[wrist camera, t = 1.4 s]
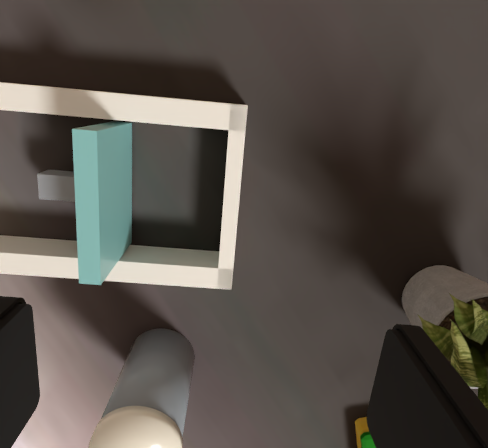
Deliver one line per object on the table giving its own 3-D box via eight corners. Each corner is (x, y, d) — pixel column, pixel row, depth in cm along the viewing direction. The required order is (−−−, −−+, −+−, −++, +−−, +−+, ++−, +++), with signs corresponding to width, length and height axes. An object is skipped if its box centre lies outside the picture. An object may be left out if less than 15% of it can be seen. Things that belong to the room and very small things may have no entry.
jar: (194, 385, 32) (179, 488, 24) (128, 381, 32) (90, 485, 24) (197, 329, 31) (183, 419, 22) (128, 325, 30) (87, 413, 22)
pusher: (131, 242, 28) (100, 285, 22) (58, 236, 28) (5, 278, 21) (131, 122, 26) (96, 130, 19) (51, 115, 25) (-12, 121, 19)
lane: (231, 270, 29) (231, 304, 24) (-71, 249, 28) (-134, 279, 23) (246, 104, 26) (248, 106, 21) (-101, 72, 24) (-182, 66, 20)
